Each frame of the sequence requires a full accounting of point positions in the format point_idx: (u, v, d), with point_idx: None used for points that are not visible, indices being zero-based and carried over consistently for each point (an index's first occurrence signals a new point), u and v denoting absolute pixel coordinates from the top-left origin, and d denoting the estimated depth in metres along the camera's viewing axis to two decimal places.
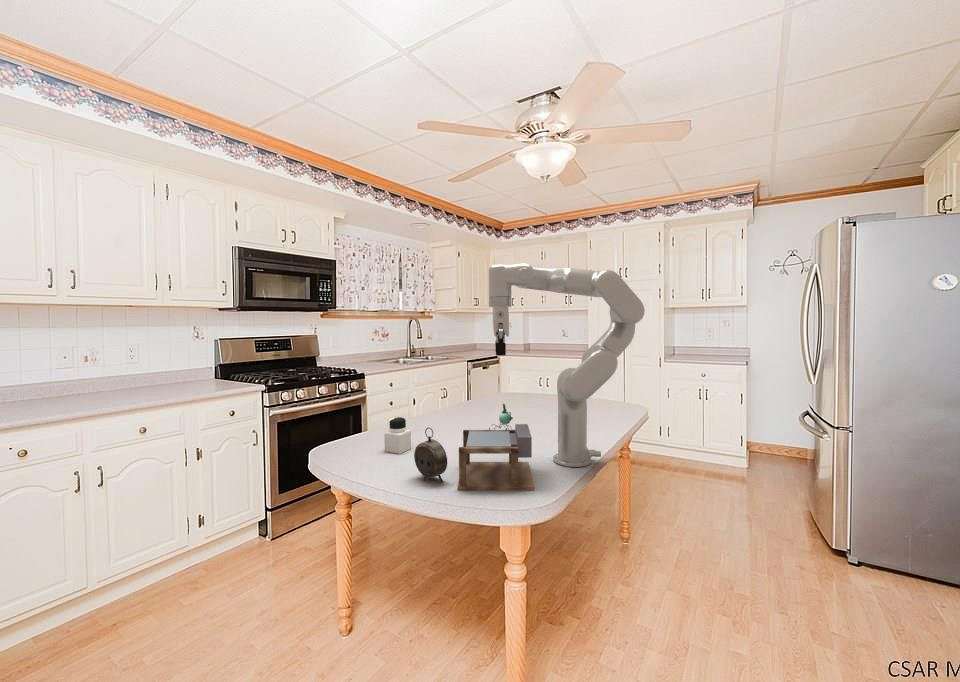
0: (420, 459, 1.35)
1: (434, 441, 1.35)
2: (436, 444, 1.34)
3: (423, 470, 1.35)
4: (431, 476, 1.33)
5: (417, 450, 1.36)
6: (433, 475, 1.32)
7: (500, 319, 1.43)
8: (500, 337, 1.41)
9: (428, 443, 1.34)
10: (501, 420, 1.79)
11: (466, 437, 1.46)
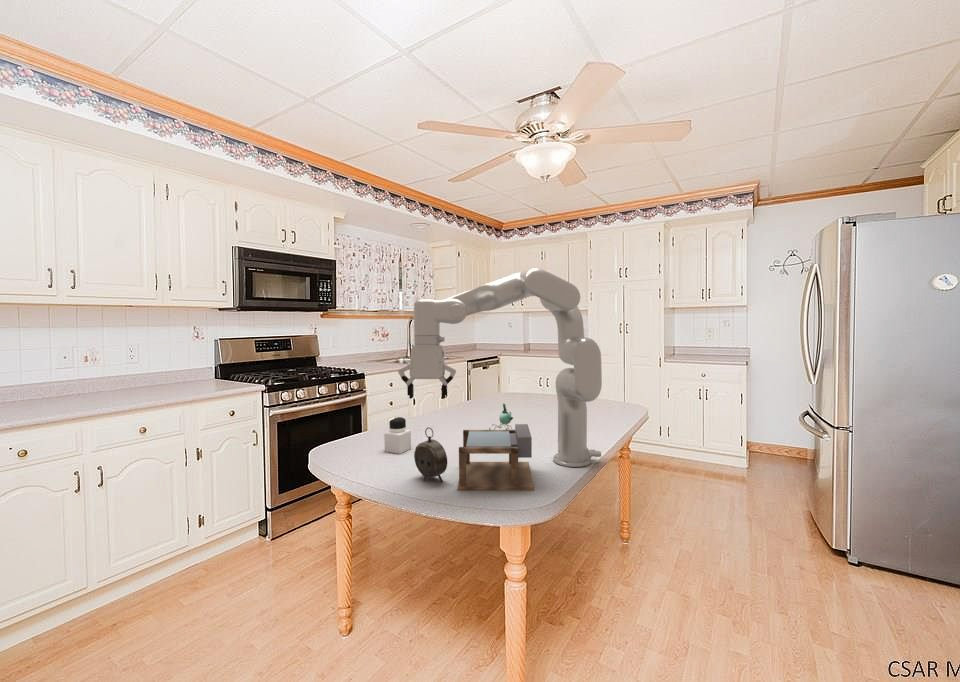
0: (420, 459, 1.35)
1: (434, 441, 1.35)
2: (436, 444, 1.34)
3: (423, 470, 1.35)
4: (431, 476, 1.33)
5: (417, 450, 1.36)
6: (433, 475, 1.32)
7: (443, 359, 1.33)
8: (452, 378, 1.33)
9: (428, 443, 1.34)
10: (501, 420, 1.79)
11: (466, 437, 1.46)
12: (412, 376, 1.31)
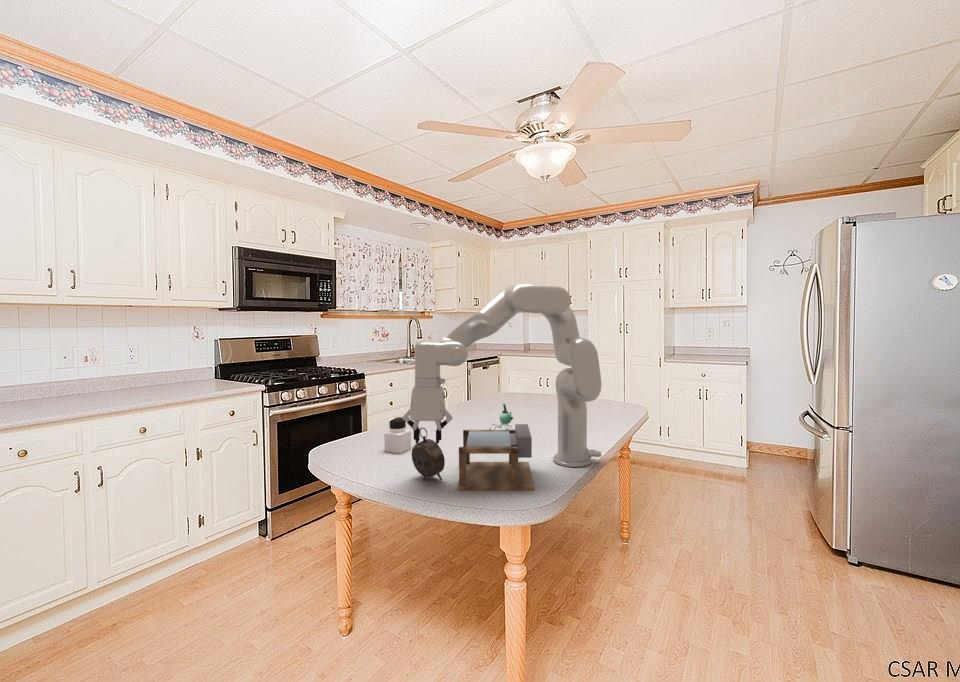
0: (418, 460, 1.35)
1: (429, 440, 1.35)
2: (432, 443, 1.34)
3: (422, 470, 1.35)
4: (430, 475, 1.33)
5: (413, 451, 1.35)
6: (432, 474, 1.32)
7: (444, 401, 1.33)
8: (446, 423, 1.34)
9: (423, 443, 1.33)
10: (501, 420, 1.79)
11: (466, 437, 1.46)
12: (412, 418, 1.32)
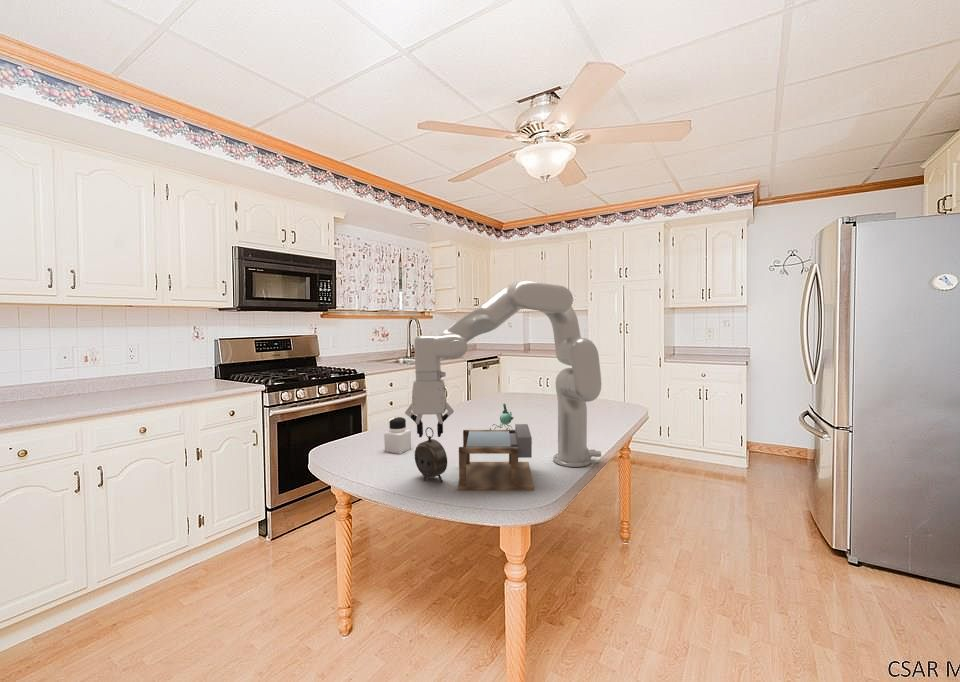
0: (421, 459, 1.35)
1: (434, 441, 1.35)
2: (436, 444, 1.34)
3: (423, 469, 1.35)
4: (431, 476, 1.33)
5: (417, 450, 1.36)
6: (433, 475, 1.32)
7: (445, 394, 1.34)
8: (447, 417, 1.34)
9: (428, 443, 1.34)
10: (502, 420, 1.79)
11: (466, 437, 1.46)
12: (414, 412, 1.32)
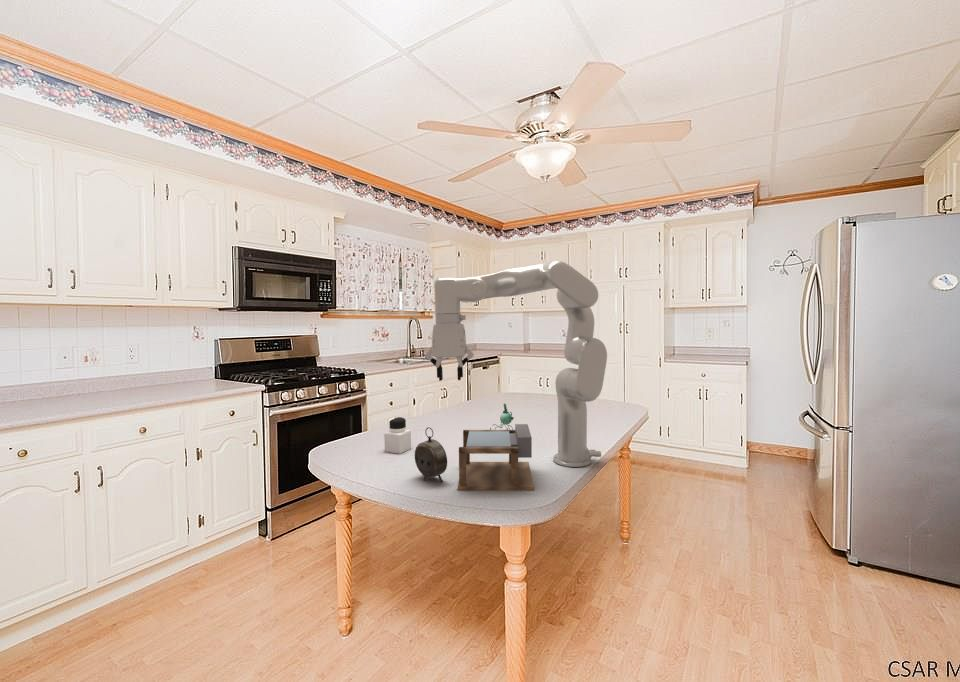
0: (420, 459, 1.35)
1: (434, 441, 1.35)
2: (436, 444, 1.34)
3: (423, 469, 1.35)
4: (431, 476, 1.33)
5: (417, 450, 1.36)
6: (433, 475, 1.32)
7: (465, 337, 1.33)
8: (467, 360, 1.34)
9: (428, 443, 1.34)
10: (502, 420, 1.79)
11: (466, 437, 1.46)
12: (434, 355, 1.32)
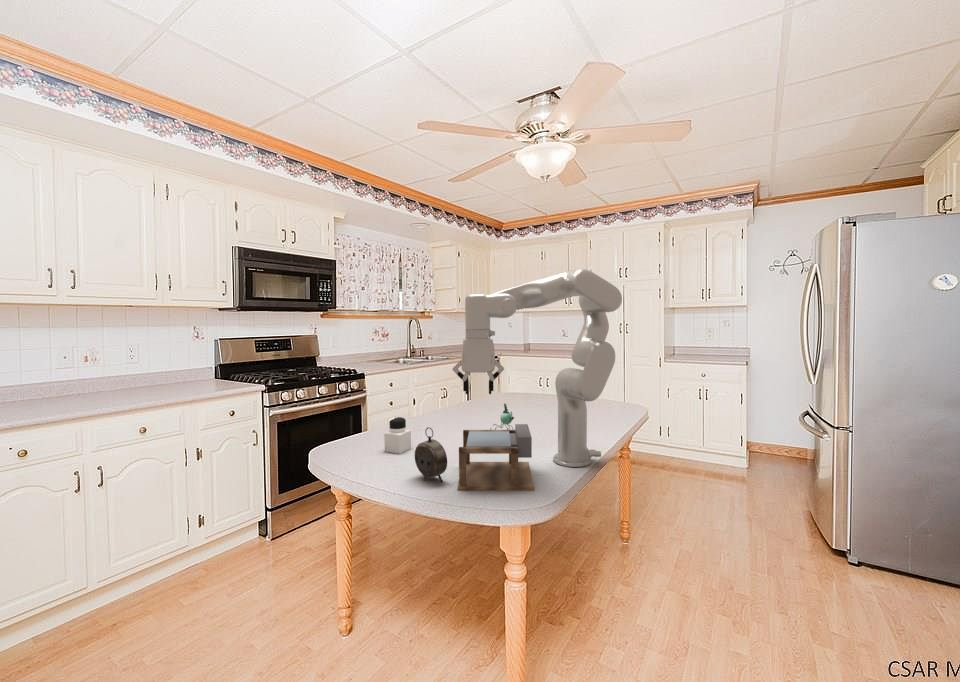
0: (420, 459, 1.35)
1: (434, 441, 1.35)
2: (436, 444, 1.34)
3: (423, 469, 1.35)
4: (431, 476, 1.33)
5: (417, 450, 1.36)
6: (433, 475, 1.32)
7: (494, 353, 1.35)
8: None
9: (428, 443, 1.34)
10: (502, 420, 1.79)
11: (466, 437, 1.46)
12: (464, 370, 1.34)
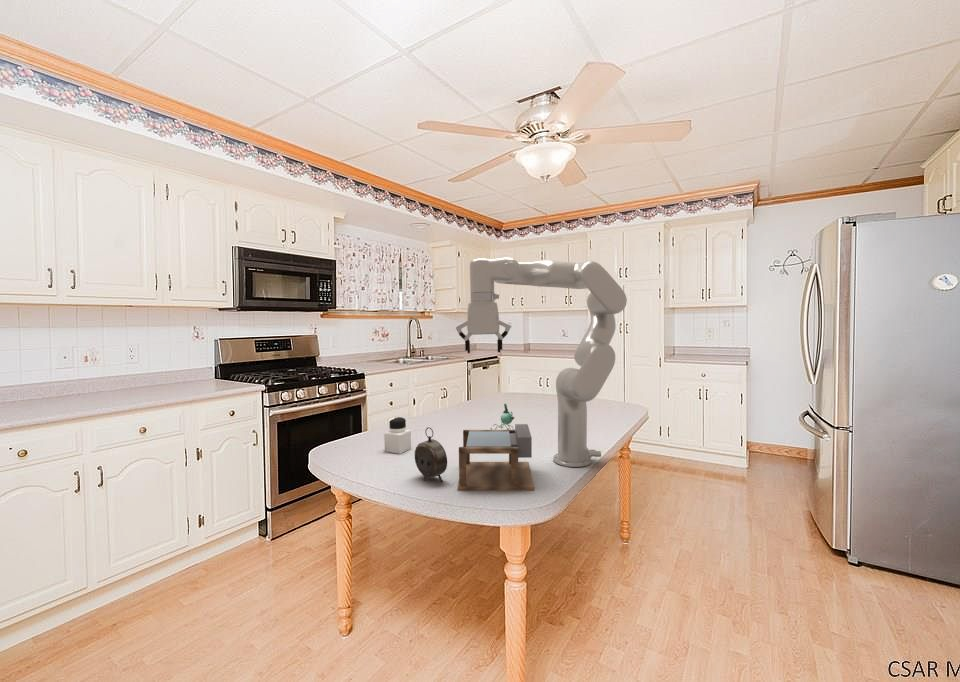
0: (420, 459, 1.35)
1: (434, 441, 1.35)
2: (436, 444, 1.34)
3: (423, 469, 1.35)
4: (431, 476, 1.33)
5: (417, 450, 1.36)
6: (433, 475, 1.32)
7: (498, 315, 1.41)
8: (507, 333, 1.41)
9: (428, 443, 1.34)
10: (503, 420, 1.79)
11: (466, 437, 1.46)
12: (470, 332, 1.39)
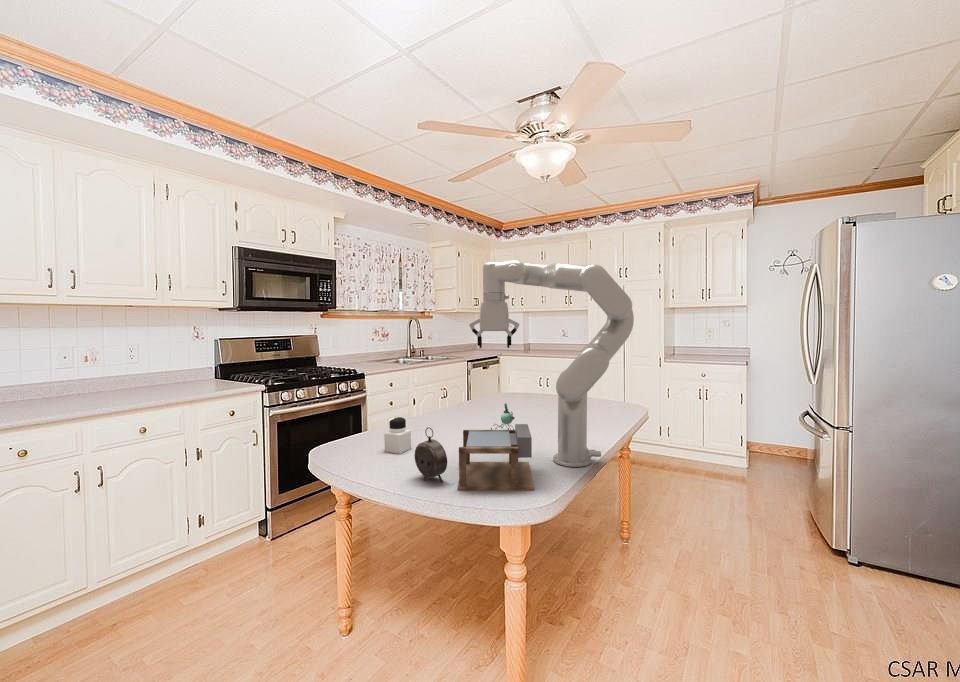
0: (420, 459, 1.35)
1: (434, 441, 1.35)
2: (436, 444, 1.34)
3: (423, 469, 1.35)
4: (431, 476, 1.33)
5: (417, 450, 1.36)
6: (433, 475, 1.32)
7: (508, 314, 1.54)
8: None
9: (428, 443, 1.34)
10: (503, 420, 1.79)
11: (466, 437, 1.46)
12: (482, 328, 1.53)
